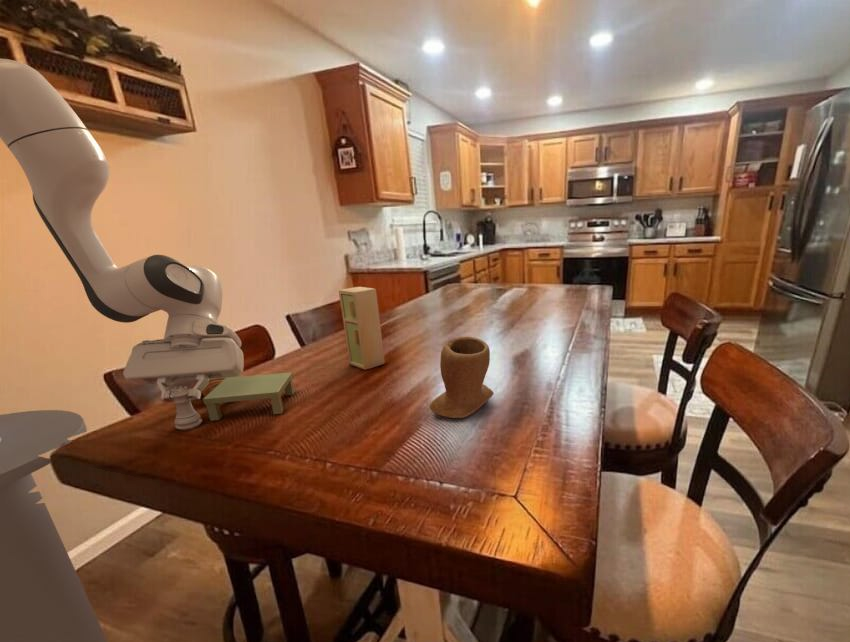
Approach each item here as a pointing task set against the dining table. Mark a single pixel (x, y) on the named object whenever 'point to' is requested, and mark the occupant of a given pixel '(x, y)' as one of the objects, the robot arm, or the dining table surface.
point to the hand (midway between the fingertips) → (180, 399)
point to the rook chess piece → (184, 410)
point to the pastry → (212, 385)
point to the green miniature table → (250, 391)
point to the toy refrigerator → (362, 327)
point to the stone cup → (463, 377)
